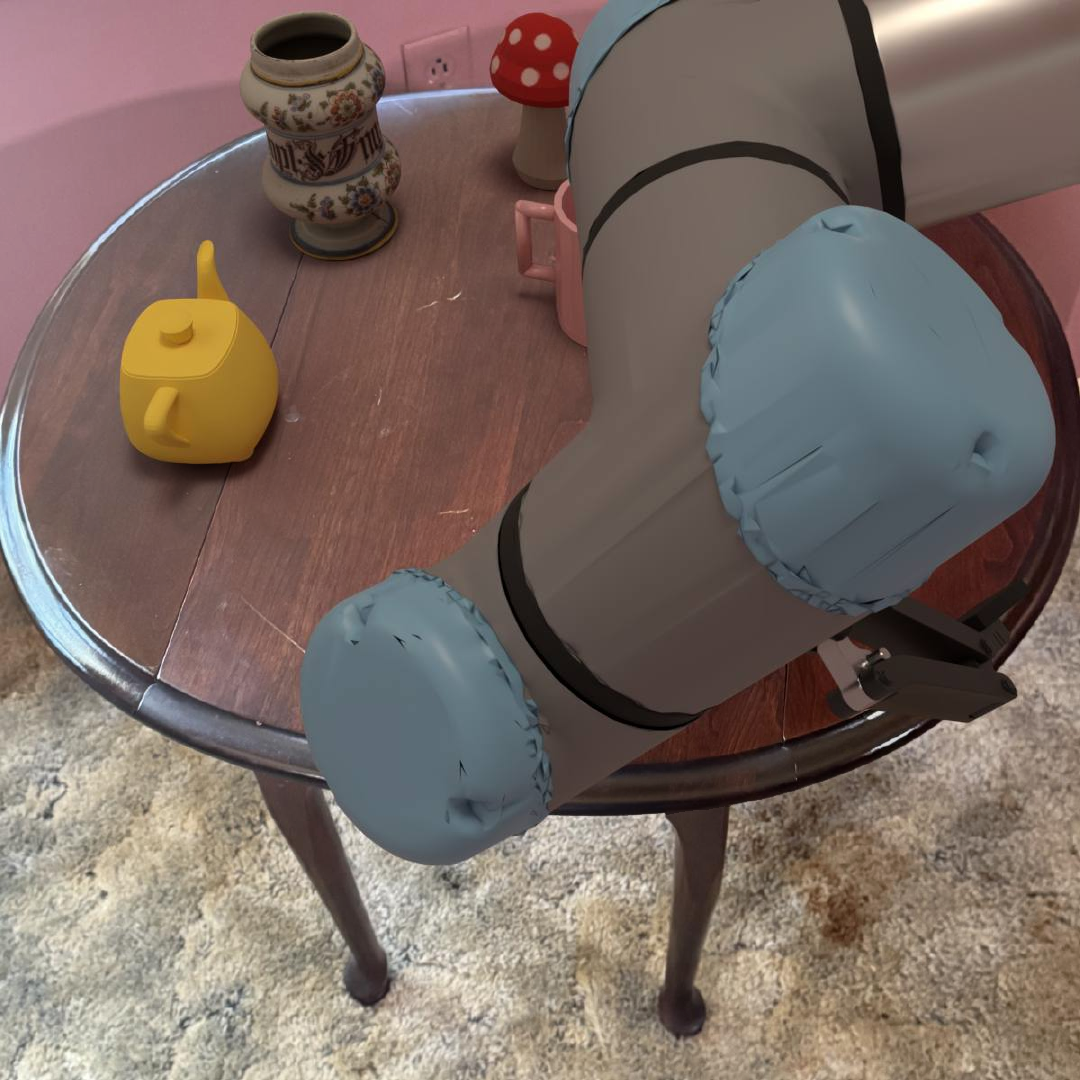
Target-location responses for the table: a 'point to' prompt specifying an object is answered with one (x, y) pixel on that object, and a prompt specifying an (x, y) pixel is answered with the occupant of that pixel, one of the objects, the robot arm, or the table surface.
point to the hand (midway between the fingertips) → (918, 483)
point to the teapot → (197, 377)
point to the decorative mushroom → (537, 92)
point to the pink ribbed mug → (556, 257)
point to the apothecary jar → (323, 133)
